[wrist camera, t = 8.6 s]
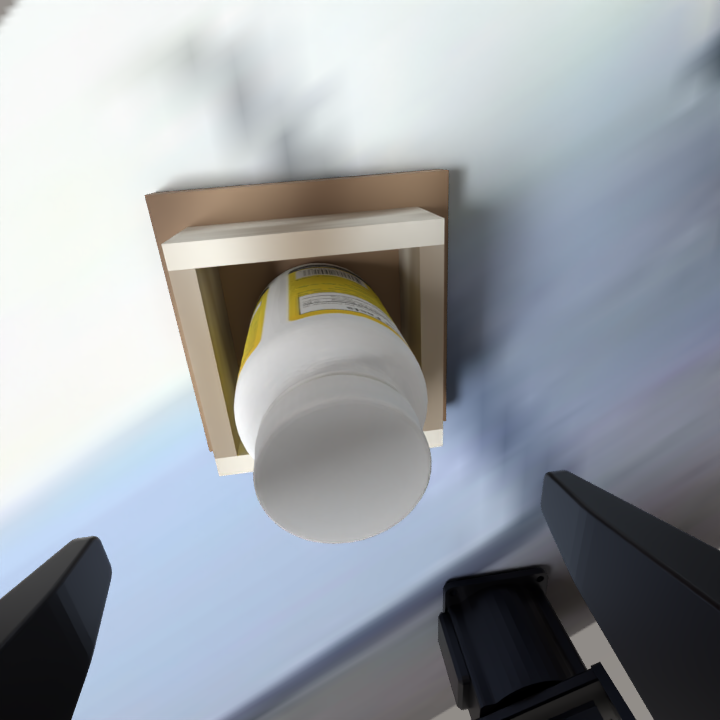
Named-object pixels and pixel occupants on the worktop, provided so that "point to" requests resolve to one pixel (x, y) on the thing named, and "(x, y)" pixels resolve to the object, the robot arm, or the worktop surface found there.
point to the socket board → (294, 248)
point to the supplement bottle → (331, 408)
